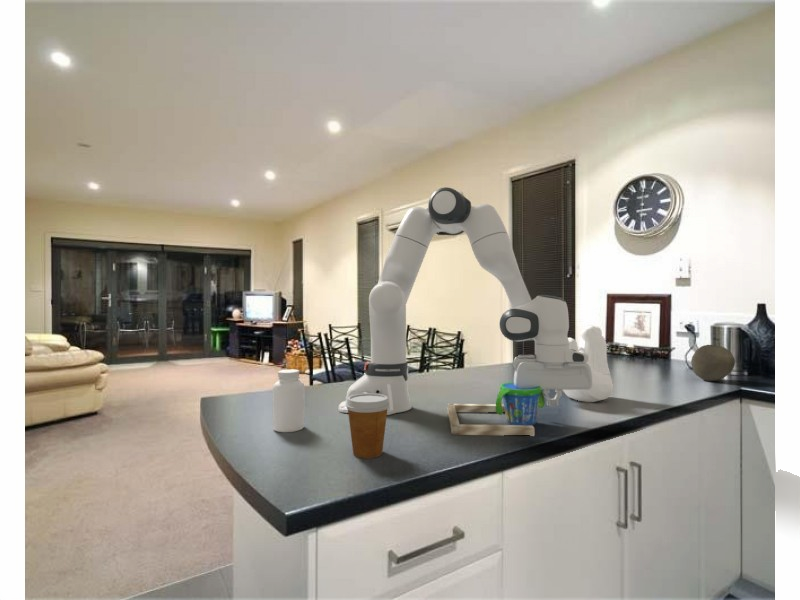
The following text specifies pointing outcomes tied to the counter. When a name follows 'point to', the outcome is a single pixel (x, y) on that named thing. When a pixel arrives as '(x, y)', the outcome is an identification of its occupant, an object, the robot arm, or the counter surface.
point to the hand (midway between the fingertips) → (552, 405)
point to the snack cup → (519, 403)
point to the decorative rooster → (593, 365)
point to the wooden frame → (483, 429)
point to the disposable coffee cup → (367, 423)
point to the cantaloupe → (712, 362)
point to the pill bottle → (288, 402)
